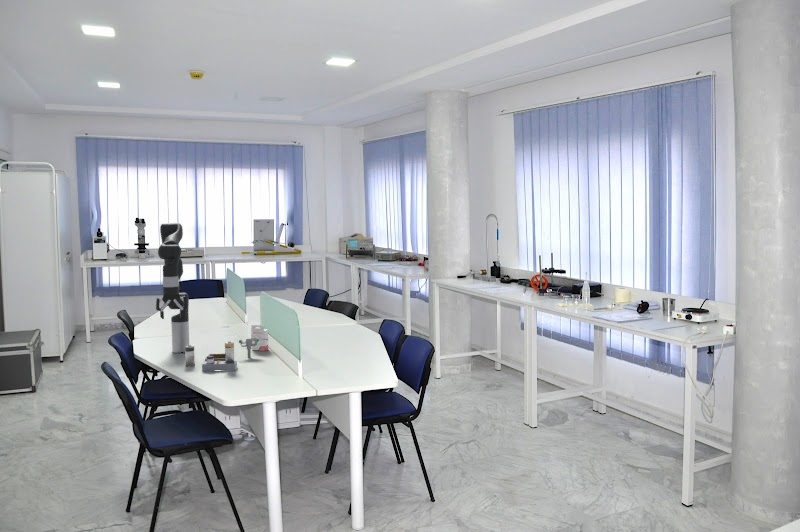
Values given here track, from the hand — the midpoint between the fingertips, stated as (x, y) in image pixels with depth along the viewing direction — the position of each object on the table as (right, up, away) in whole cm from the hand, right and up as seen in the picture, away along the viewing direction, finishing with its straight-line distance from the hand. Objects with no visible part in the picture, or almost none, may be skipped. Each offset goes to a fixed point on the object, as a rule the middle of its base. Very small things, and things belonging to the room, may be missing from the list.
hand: (171, 318), depth 314 cm
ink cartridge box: (+33, -23, +50) cm, 63 cm away
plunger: (+17, -25, +6) cm, 31 cm away
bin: (+17, -25, +20) cm, 36 cm away
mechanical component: (+30, -24, +32) cm, 51 cm away
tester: (+22, -26, +7) cm, 35 cm away
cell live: (+27, -23, +7) cm, 36 cm away
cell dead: (+4, -26, +14) cm, 30 cm away
